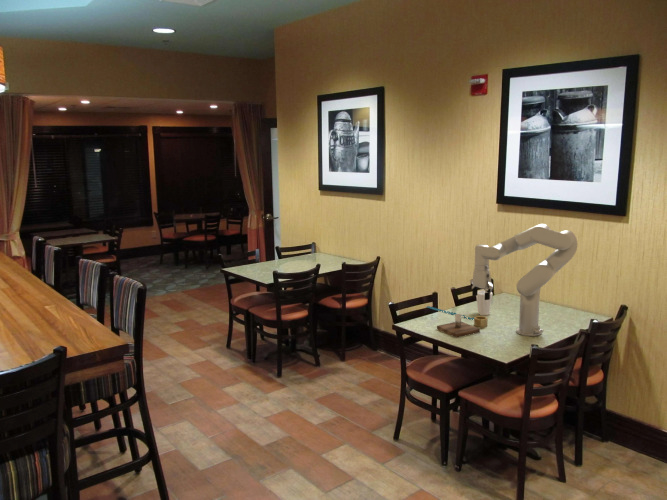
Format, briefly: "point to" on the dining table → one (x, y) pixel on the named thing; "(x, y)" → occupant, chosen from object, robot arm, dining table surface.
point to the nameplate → (447, 312)
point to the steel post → (457, 320)
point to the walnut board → (458, 329)
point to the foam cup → (483, 303)
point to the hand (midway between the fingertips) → (480, 297)
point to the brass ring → (480, 321)
